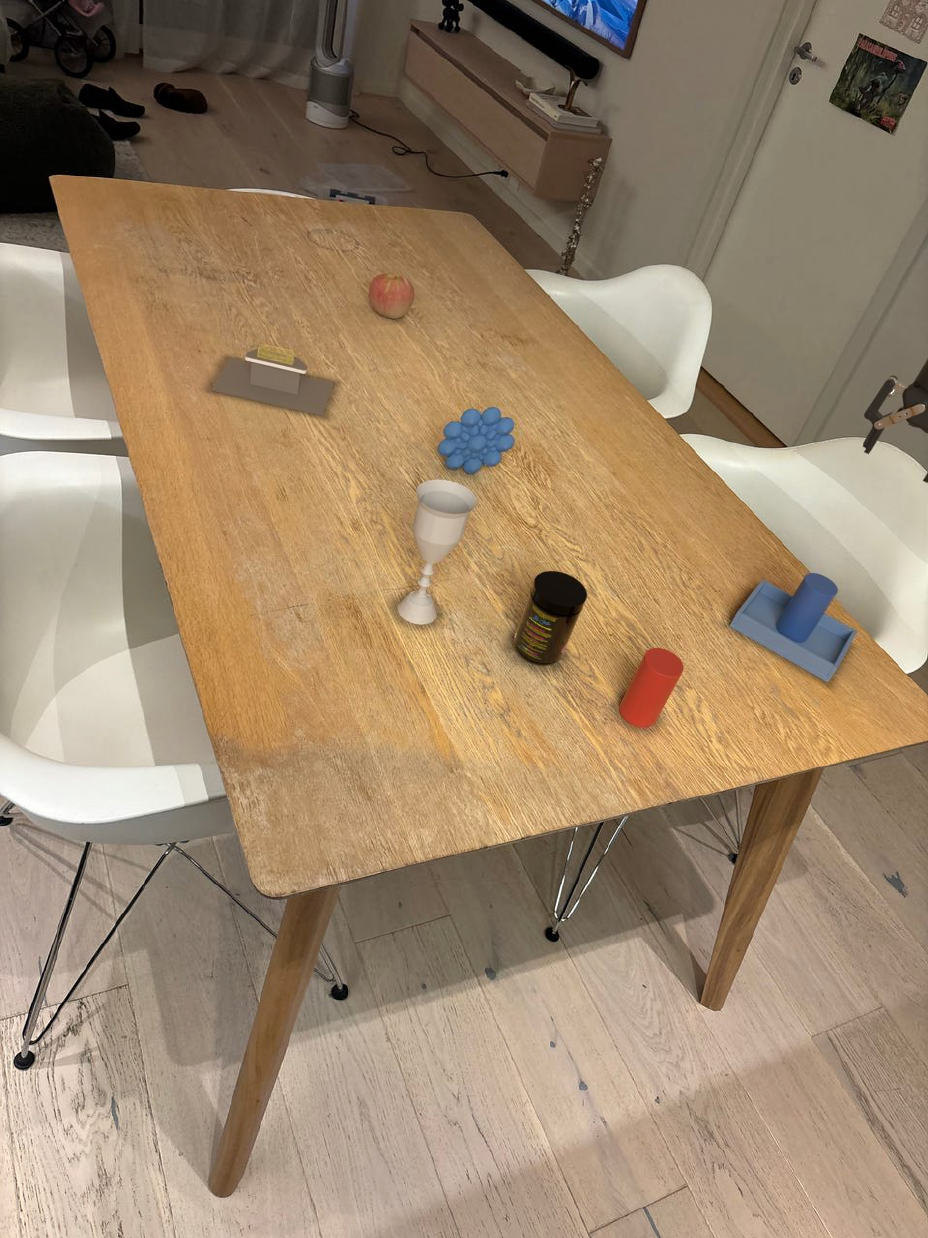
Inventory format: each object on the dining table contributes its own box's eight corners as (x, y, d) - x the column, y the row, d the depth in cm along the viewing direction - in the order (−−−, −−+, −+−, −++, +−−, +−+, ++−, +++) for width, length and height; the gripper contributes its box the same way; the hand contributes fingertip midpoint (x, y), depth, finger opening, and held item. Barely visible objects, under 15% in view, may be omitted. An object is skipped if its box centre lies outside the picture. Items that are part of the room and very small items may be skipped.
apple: (397, 328, 180) (405, 289, 174) (357, 312, 181) (364, 272, 176) (416, 316, 186) (424, 277, 181) (378, 300, 188) (384, 261, 182)
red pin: (662, 713, 114) (690, 662, 108) (646, 734, 111) (674, 682, 105) (629, 693, 115) (654, 641, 110) (612, 712, 112) (638, 660, 106)
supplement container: (559, 675, 115) (584, 613, 108) (507, 659, 115) (530, 596, 108) (564, 641, 120) (589, 580, 114) (515, 626, 120) (537, 564, 114)
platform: (229, 358, 156) (232, 321, 152) (334, 382, 158) (339, 347, 154) (211, 390, 147) (213, 352, 142) (322, 416, 149) (327, 379, 144)
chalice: (397, 630, 114) (425, 514, 103) (383, 594, 119) (409, 479, 107) (451, 627, 117) (485, 513, 105) (436, 592, 122) (466, 479, 110)
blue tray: (848, 645, 134) (857, 631, 132) (827, 682, 126) (837, 668, 125) (754, 592, 139) (762, 578, 137) (729, 626, 131) (737, 611, 129)
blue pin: (811, 632, 133) (842, 585, 127) (802, 647, 130) (832, 600, 124) (781, 615, 135) (810, 568, 129) (771, 630, 131) (800, 582, 125)
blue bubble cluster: (500, 463, 150) (519, 398, 143) (505, 486, 145) (525, 420, 138) (430, 453, 148) (446, 386, 140) (433, 476, 143) (450, 408, 135)
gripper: (904, 341, 115) (841, 451, 126) (1015, 390, 111) (941, 499, 122) (916, 328, 121) (854, 434, 131) (1023, 374, 116) (951, 480, 127)
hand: (896, 465), depth 126 cm, fingers open, 8 cm apart
